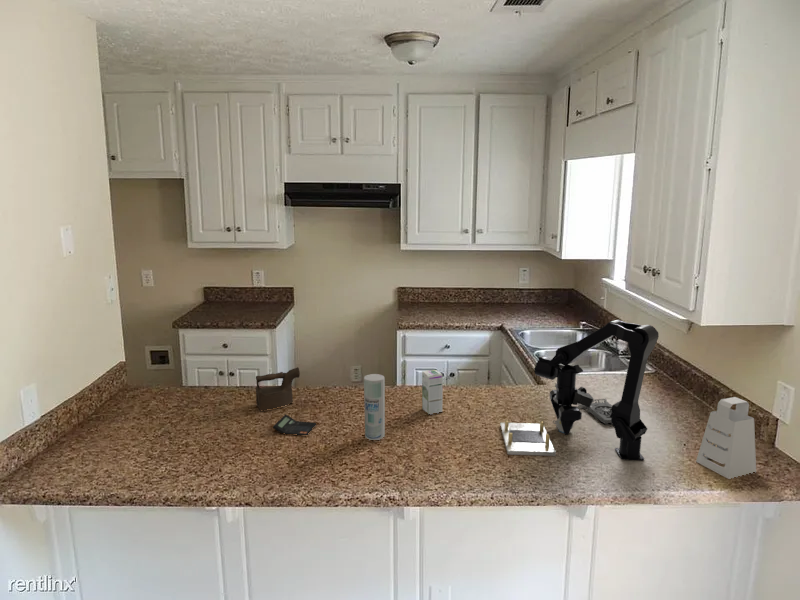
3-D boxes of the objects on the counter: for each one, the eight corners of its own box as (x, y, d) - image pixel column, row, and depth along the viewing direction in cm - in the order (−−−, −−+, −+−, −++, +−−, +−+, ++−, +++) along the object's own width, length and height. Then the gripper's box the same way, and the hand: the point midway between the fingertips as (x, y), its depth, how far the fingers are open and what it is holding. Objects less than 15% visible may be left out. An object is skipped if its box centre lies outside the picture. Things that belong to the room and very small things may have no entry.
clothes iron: (302, 405, 197) (301, 370, 194) (258, 412, 191) (256, 376, 188) (297, 398, 204) (296, 364, 201) (255, 404, 198) (253, 369, 195)
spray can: (387, 433, 174) (387, 374, 170) (381, 442, 167) (380, 381, 164) (368, 431, 175) (367, 373, 171) (361, 439, 169) (360, 379, 165)
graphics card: (574, 399, 194) (606, 397, 196) (574, 409, 195) (605, 406, 196) (597, 419, 178) (631, 416, 179) (597, 429, 179) (630, 426, 180)
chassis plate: (555, 455, 159) (556, 442, 158) (507, 454, 160) (508, 441, 159) (542, 427, 178) (543, 415, 177) (500, 425, 179) (500, 414, 178)
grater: (695, 461, 155) (703, 396, 151) (722, 455, 159) (730, 391, 155) (729, 479, 146) (738, 410, 142) (756, 472, 149) (765, 404, 145)
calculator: (306, 437, 172) (306, 428, 171) (273, 434, 174) (272, 425, 173) (317, 425, 181) (316, 416, 180) (284, 422, 183) (284, 414, 182)
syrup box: (443, 412, 190) (443, 373, 187) (427, 415, 188) (428, 375, 185) (436, 406, 195) (436, 368, 192) (421, 409, 193) (421, 370, 190)
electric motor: (549, 430, 176) (550, 416, 175) (557, 426, 179) (558, 412, 178) (569, 437, 171) (570, 422, 170) (576, 432, 174) (577, 418, 173)
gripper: (600, 394, 162) (596, 442, 165) (584, 374, 180) (581, 417, 183) (562, 393, 163) (559, 441, 166) (550, 373, 181) (548, 416, 184)
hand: (563, 428), depth 175 cm, fingers open, 9 cm apart
